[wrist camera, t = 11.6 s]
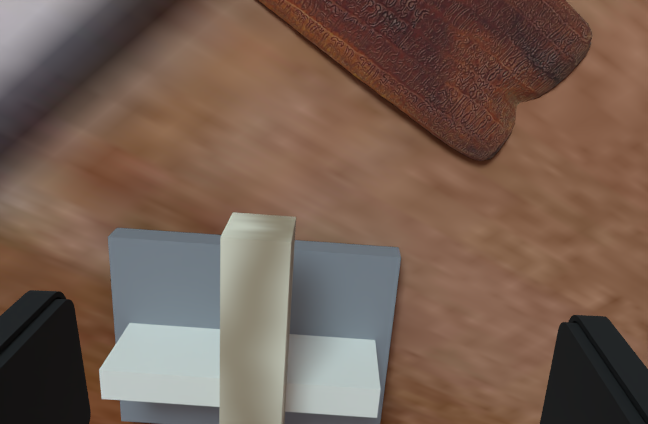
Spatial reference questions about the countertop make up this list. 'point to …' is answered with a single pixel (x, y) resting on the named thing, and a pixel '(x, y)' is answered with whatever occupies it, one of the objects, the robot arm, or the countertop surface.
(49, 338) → the robot arm
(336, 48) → the wooden tablet
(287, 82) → the countertop surface
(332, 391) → the stand
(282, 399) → the birch beam
